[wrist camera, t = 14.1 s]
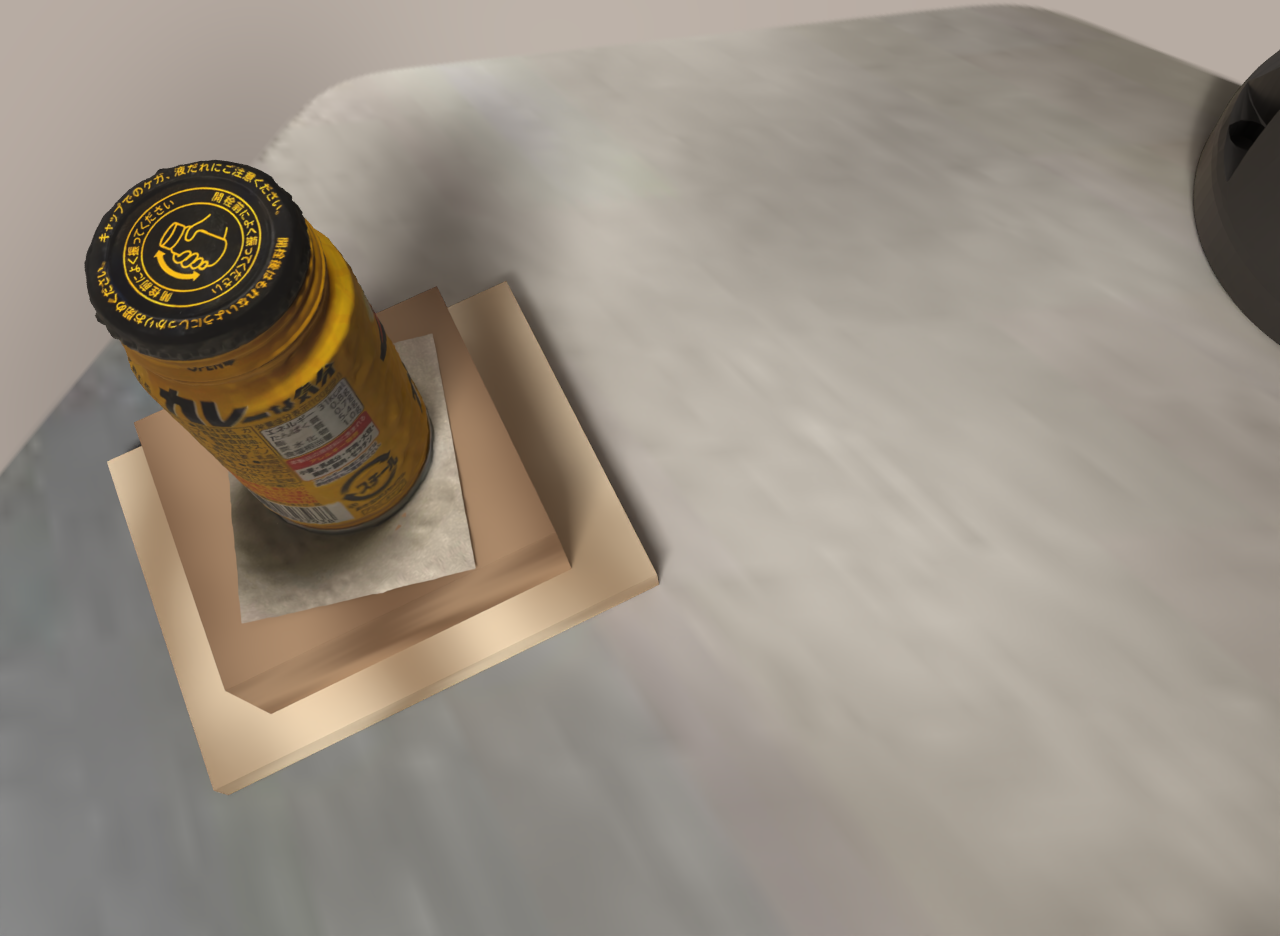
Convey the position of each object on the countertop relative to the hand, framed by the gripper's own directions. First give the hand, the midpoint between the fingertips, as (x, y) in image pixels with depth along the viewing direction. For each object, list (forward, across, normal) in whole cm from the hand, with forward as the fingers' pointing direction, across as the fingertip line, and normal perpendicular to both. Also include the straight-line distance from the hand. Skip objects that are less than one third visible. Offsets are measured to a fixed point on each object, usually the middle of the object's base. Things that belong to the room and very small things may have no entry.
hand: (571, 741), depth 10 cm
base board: (+31, -9, -11) cm, 34 cm away
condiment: (+27, -8, -7) cm, 30 cm away
